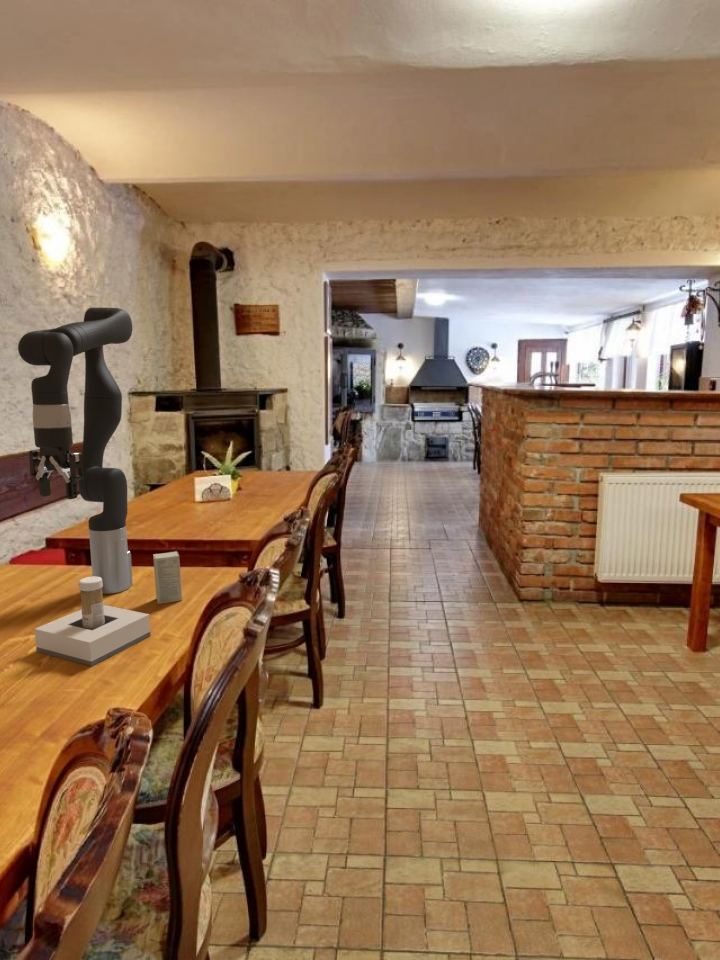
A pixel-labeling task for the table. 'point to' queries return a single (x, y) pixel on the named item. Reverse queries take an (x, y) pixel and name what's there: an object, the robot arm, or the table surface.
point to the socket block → (92, 635)
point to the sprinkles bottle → (92, 602)
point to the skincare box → (167, 577)
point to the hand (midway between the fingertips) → (58, 497)
